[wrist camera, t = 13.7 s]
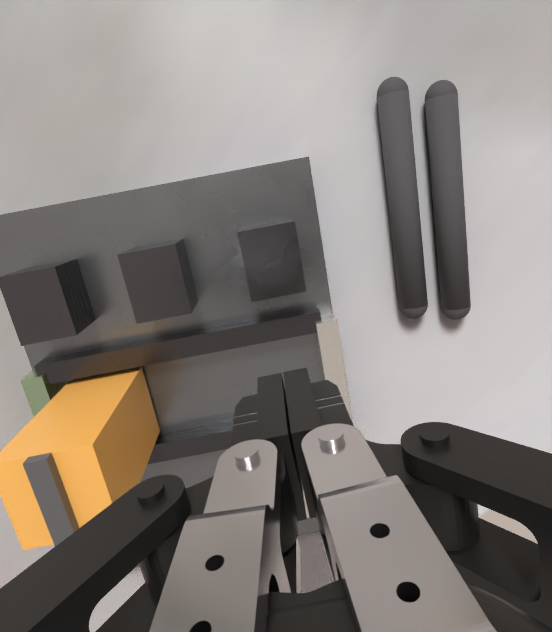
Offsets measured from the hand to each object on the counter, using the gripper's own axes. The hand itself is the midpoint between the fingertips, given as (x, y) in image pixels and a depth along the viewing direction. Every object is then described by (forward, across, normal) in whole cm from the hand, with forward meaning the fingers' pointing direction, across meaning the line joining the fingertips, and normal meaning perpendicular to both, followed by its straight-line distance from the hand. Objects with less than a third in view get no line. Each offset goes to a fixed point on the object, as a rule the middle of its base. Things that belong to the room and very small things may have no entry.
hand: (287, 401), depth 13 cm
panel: (+10, +5, +3) cm, 12 cm away
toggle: (+8, +9, +3) cm, 12 cm away
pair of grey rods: (+10, -8, -4) cm, 14 cm away
